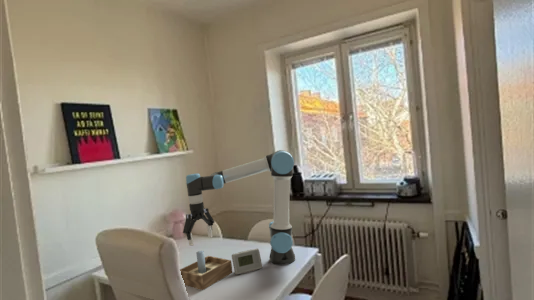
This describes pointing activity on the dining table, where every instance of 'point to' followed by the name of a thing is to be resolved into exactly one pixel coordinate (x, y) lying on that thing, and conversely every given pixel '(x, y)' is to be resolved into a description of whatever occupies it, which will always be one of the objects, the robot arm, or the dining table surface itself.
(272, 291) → the dining table surface
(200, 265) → the dowel
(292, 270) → the dining table surface
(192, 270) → the open box
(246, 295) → the dining table surface
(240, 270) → the digital clock
